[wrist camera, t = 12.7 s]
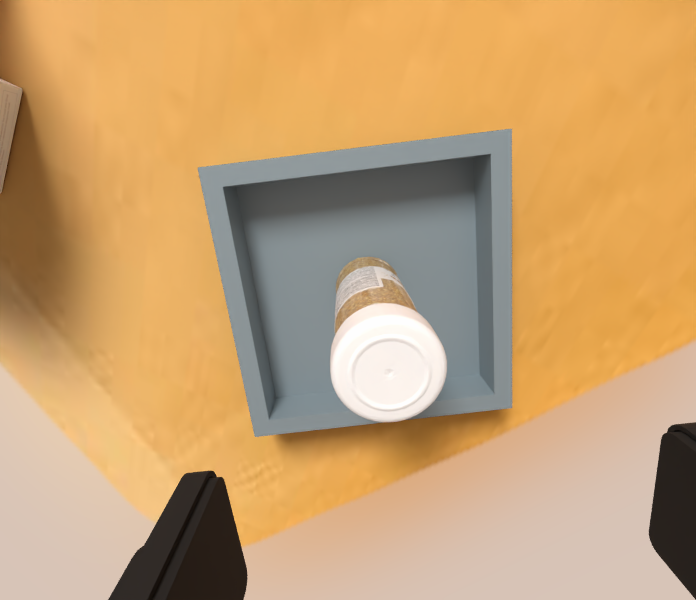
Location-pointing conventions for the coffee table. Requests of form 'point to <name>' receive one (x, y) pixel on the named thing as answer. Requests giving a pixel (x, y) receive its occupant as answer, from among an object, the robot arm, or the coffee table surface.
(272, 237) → the tray
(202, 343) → the coffee table surface
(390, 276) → the sprinkles bottle
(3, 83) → the supplement box
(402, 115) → the coffee table surface
